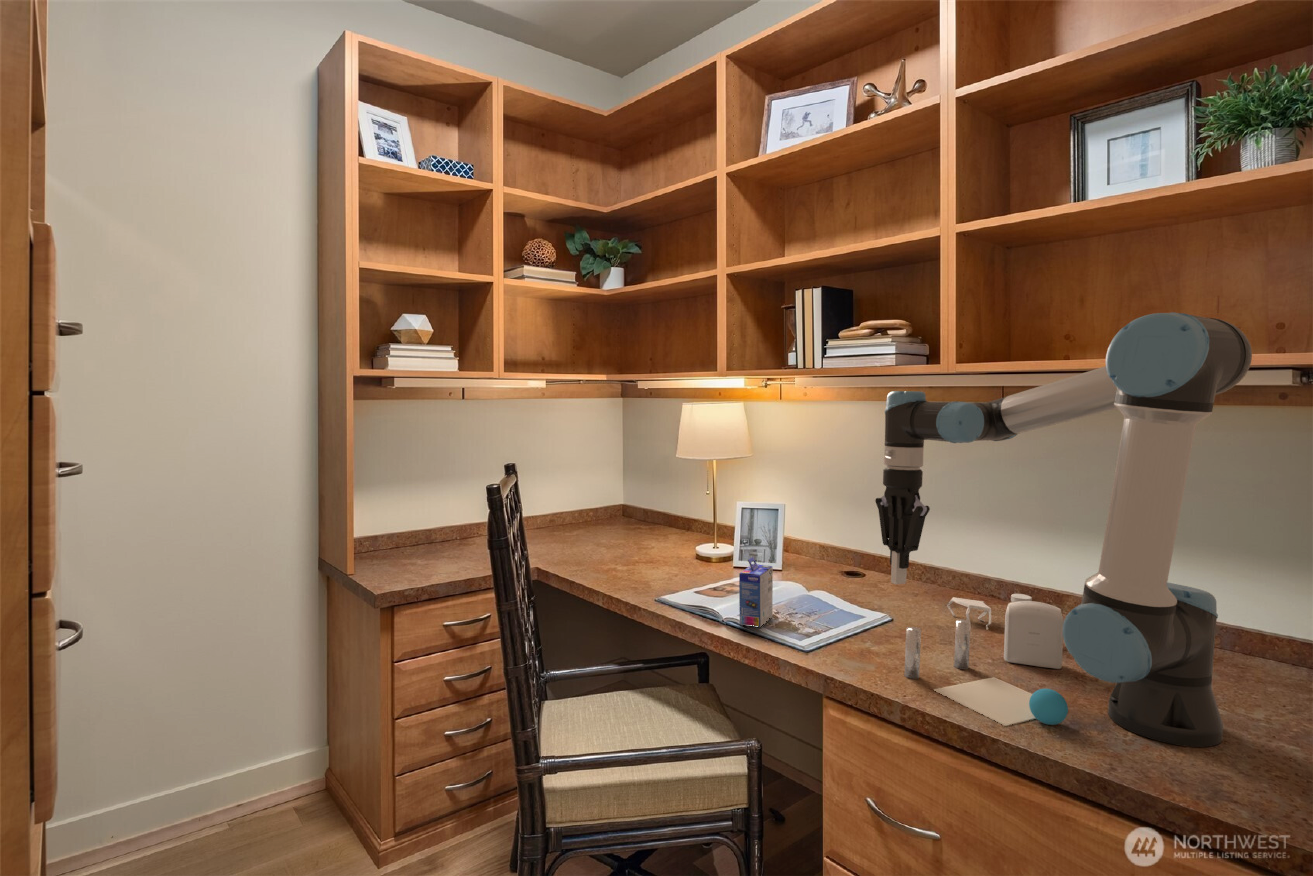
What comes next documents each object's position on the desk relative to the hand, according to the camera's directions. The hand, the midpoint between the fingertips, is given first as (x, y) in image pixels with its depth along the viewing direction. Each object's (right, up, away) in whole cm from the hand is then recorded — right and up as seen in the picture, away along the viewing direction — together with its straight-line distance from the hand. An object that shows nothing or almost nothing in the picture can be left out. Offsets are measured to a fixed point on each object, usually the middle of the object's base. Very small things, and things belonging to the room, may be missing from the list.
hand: (898, 582), depth 146 cm
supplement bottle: (+30, -15, +10) cm, 35 cm away
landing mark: (+10, -16, -22) cm, 29 cm away
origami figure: (+24, -14, +22) cm, 36 cm away
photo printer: (+25, -15, -4) cm, 30 cm away
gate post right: (+10, -15, -7) cm, 19 cm away
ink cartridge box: (-26, -13, +20) cm, 35 cm away
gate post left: (-1, -15, -12) cm, 19 cm away
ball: (+14, -14, -30) cm, 36 cm away
